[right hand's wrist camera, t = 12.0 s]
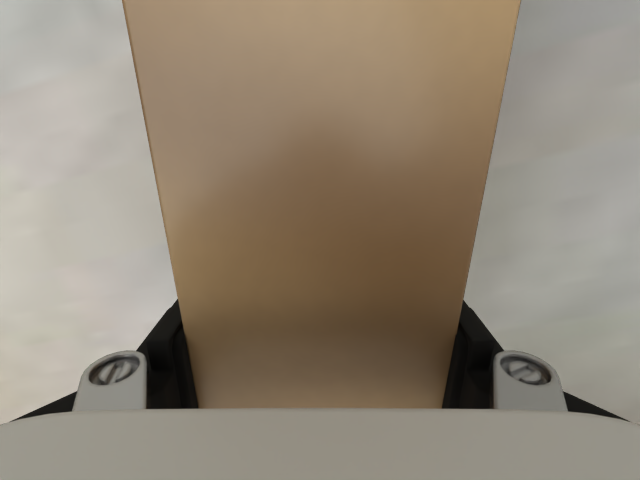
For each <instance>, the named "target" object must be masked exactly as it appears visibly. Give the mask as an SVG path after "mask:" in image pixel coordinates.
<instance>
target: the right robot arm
mask: <svg viewBox="0 0 640 480" xmlns="http://www.w3.org/2000/svg"><path fill="white" fill-rule="evenodd" d="M0 480H640V425H639V424H636V423H632V422H630V421H628V420H625V419H623V418H621V417H619V416H617V415H614V414H612V413H610V412H608V411H606V410H603V409H601V408H599V407H597V406H595V405H592V404H590V403H588V402H586V401H584V400H581V399H579V398H577V397H575V396H573V395H570V394H568V393H566V392H564V391H562V387H561V383H560V379H559V376H558V374H557V373H556V371H555V370H554V369H553V368H552V367H551V366H550V365H549V364H548V363H546V362H545V361H543V360H542V359H540V358H538V357H536V356H534V355H531V354H528V353H525V352H520V351H504V350H503V349H502V347H501V346H500V345H499V343H498V342H497V341H496V340H495V338H494V337H493V336H492V334H491V333H490V332H489V330H488V329H487V328H486V327H485V325H484V324H483V323H482V321H481V320H480V319H479V318H478V316H477V315H476V314H475V312H474V311H473V310H472V309H471V308H469V307H468V305H467V304H466V303H465V301H464V300H463V303H462V308H461V313H460V318H459V324H458V329H457V334H456V335H455V341H454V346H453V351H452V356H451V362H450V367H449V372H448V377H447V383H446V388H445V393H444V398H443V404H442V409H417V408H218V409H199V407H198V402H197V396H196V391H195V386H194V381H193V375H192V370H191V365H190V359H189V354H188V349H187V344H186V338H185V333H184V328H183V323H182V317H181V312H180V307H179V301H178V299H177V300H176V302H175V303H174V304H173V306H172V307H171V308H169V309H168V310H167V311H166V313H165V314H164V315H163V317H162V318H161V319H160V320H159V322H158V323H157V324H156V326H155V327H154V328H153V330H152V331H151V332H150V333H149V335H148V336H147V337H146V339H145V340H144V341H143V343H142V344H141V345H140V346H139V348H138V349H137V350H136V351H120V352H115V353H112V354H109V355H106V356H104V357H102V358H100V359H98V360H97V361H95V362H94V363H92V364H91V365H90V366H89V367H88V368H87V369H86V370H85V371H84V373H83V374H82V376H81V379H80V383H79V387H78V391H76V392H74V393H72V394H70V395H68V396H65V397H63V398H61V399H59V400H57V401H54V402H52V403H50V404H48V405H46V406H43V407H41V408H39V409H37V410H35V411H32V412H30V413H28V414H26V415H24V416H21V417H19V418H17V419H15V420H13V421H10V422H8V423H4V424H1V425H0Z"/></svg>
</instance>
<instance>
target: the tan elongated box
mask: <svg viewBox="0 0 640 480" xmlns="http://www.w3.org/2000/svg"><path fill="white" fill-rule="evenodd" d="M520 2H521V0H122V3H123V8H124V13H125V19H126V24H127V29H128V35H129V40H130V45H131V51H132V56H133V61H134V67H135V72H136V77H137V83H138V88H139V93H140V99H141V104H142V109H143V115H144V120H145V125H146V131H147V136H148V141H149V147H150V152H151V157H152V163H153V168H154V173H155V179H156V184H157V189H158V195H159V200H160V205H161V211H162V216H163V221H164V227H165V232H166V237H167V243H168V248H169V253H170V259H171V264H172V269H173V275H174V280H175V285H176V291H177V296H178V301H179V307H180V312H181V317H182V323H183V328H184V333H185V338H186V344H187V349H188V354H189V359H190V365H191V370H192V375H193V381H194V386H195V391H196V396H197V402H198V407H199V409H218V408H417V409H442V404H443V398H444V393H445V388H446V383H447V377H448V372H449V367H450V362H451V356H452V351H453V346H454V341H455V335H456V334H457V329H458V324H459V318H460V313H461V308H462V303H463V298H464V292H465V287H466V282H467V277H468V272H469V267H470V261H471V256H472V251H473V246H474V241H475V235H476V230H477V225H478V220H479V215H480V210H481V204H482V199H483V194H484V189H485V184H486V178H487V173H488V168H489V163H490V158H491V153H492V147H493V142H494V137H495V132H496V127H497V121H498V116H499V111H500V106H501V101H502V96H503V90H504V85H505V80H506V75H507V70H508V64H509V59H510V54H511V49H512V44H513V39H514V33H515V28H516V23H517V18H518V13H519V7H520Z"/></svg>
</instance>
